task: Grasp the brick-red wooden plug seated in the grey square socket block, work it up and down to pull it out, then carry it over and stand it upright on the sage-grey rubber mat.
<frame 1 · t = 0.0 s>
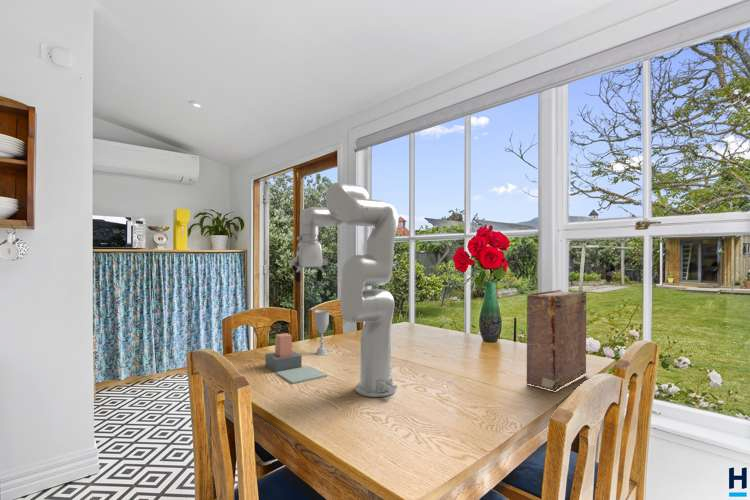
hand: (308, 281, 156), 31 cm above the table, tool pointing down, fingers open, 9 cm apart
mat: (301, 375, 134), on the table
plug: (283, 350, 144), in the grey square socket block
grey square socket block: (283, 366, 144), on the table
chalice: (321, 354, 163), on the table
book: (557, 381, 130), on the table
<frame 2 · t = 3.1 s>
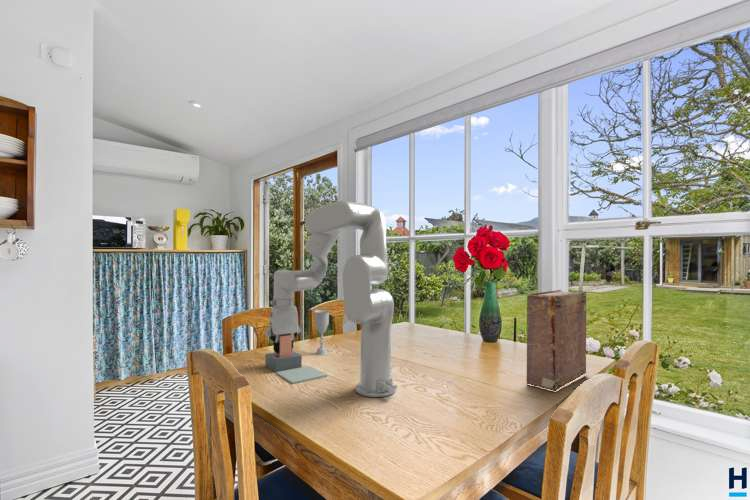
hand: (283, 351, 144), 6 cm above the table, tool pointing down, fingers closed on plug, 4 cm apart
plug: (283, 350, 144), in the grey square socket block, touching gripper
everything else where it was.
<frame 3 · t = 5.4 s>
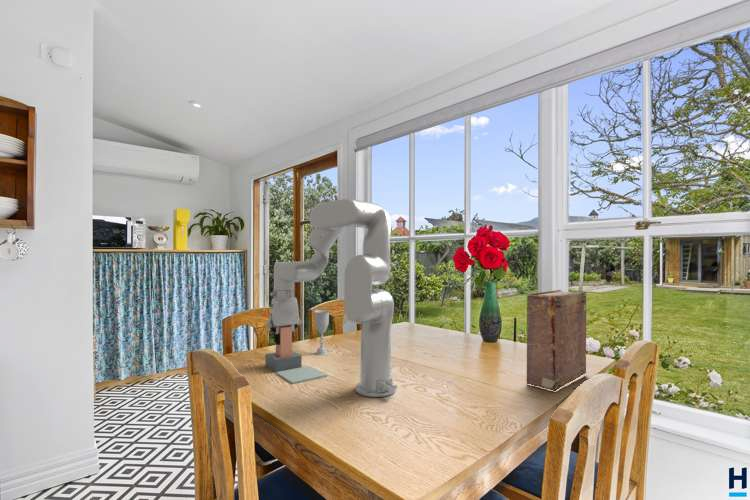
hand: (283, 342, 144), 9 cm above the table, tool pointing down, fingers closed on plug, 4 cm apart
plug: (283, 342, 144), point 9 cm above the table, touching gripper
everything else where it was.
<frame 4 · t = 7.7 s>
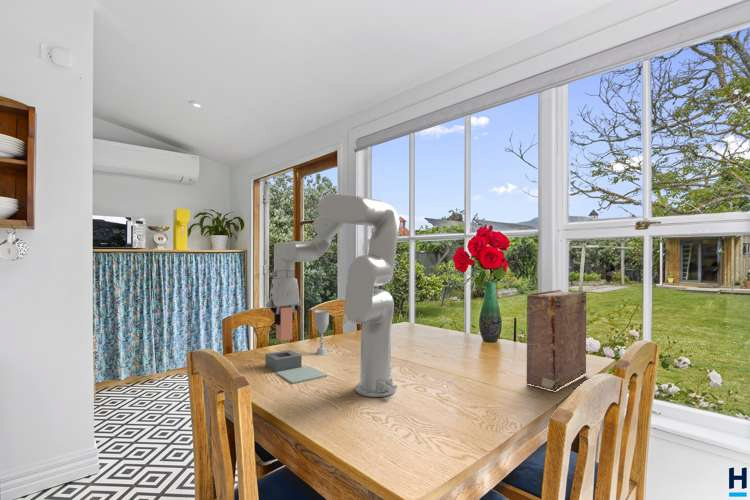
hand: (284, 323, 144), 16 cm above the table, tool pointing down, fingers closed on plug, 4 cm apart
plug: (284, 322, 144), point 16 cm above the table, touching gripper
everything else where it was.
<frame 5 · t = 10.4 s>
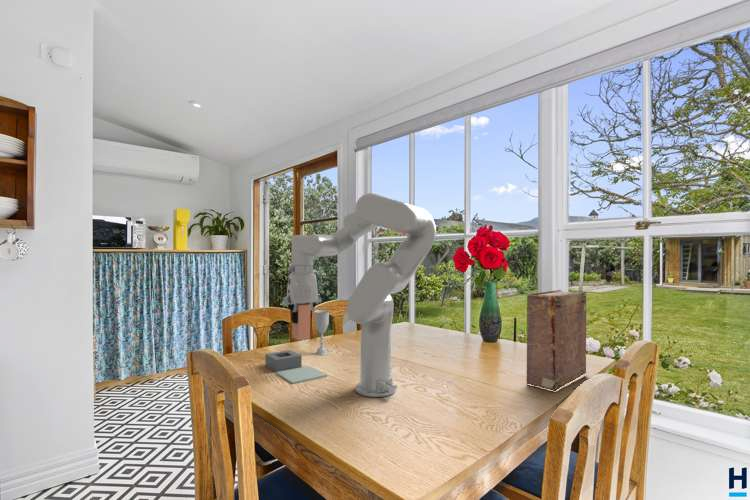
hand: (301, 321, 134), 19 cm above the table, tool pointing down, fingers closed on plug, 4 cm apart
plug: (301, 321, 134), point 19 cm above the table, touching gripper
everything else where it was.
when the fingers open (8 cm above the table, at t = 12.6 s): plug drops 1 cm, resting on mat.
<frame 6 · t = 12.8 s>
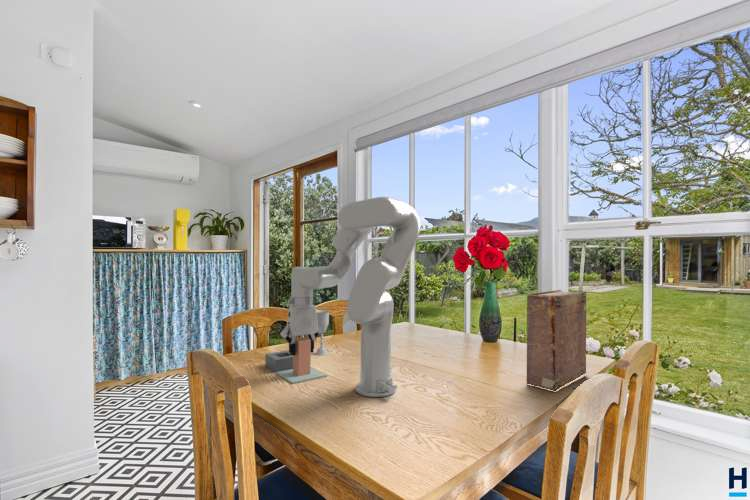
hand: (301, 352, 134), 8 cm above the table, tool pointing down, fingers open, 6 cm apart
plug: (301, 356, 134), on the mat, point 7 cm above the table
everything else where it was.
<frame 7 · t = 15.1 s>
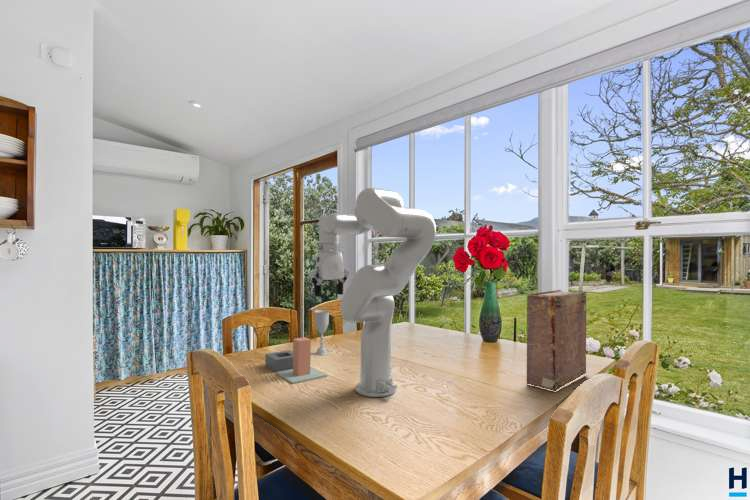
hand: (329, 295, 141), 27 cm above the table, tool pointing down, fingers open, 9 cm apart
nothing on the table moved.
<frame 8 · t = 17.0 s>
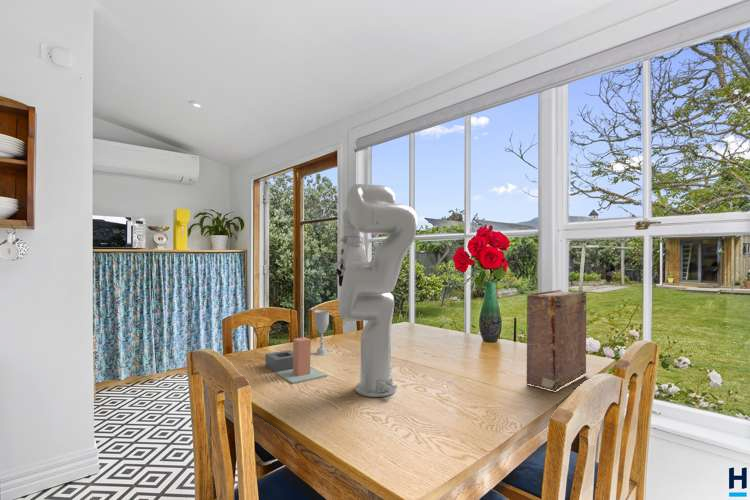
hand: (352, 285, 149), 30 cm above the table, tool pointing down, fingers open, 9 cm apart
nothing on the table moved.
at the end: plug inside the target area on the mat (0.0 cm from its centre), point 6.6 cm above the mat's base; plug tilted 0°; the gripper is holding nothing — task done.
